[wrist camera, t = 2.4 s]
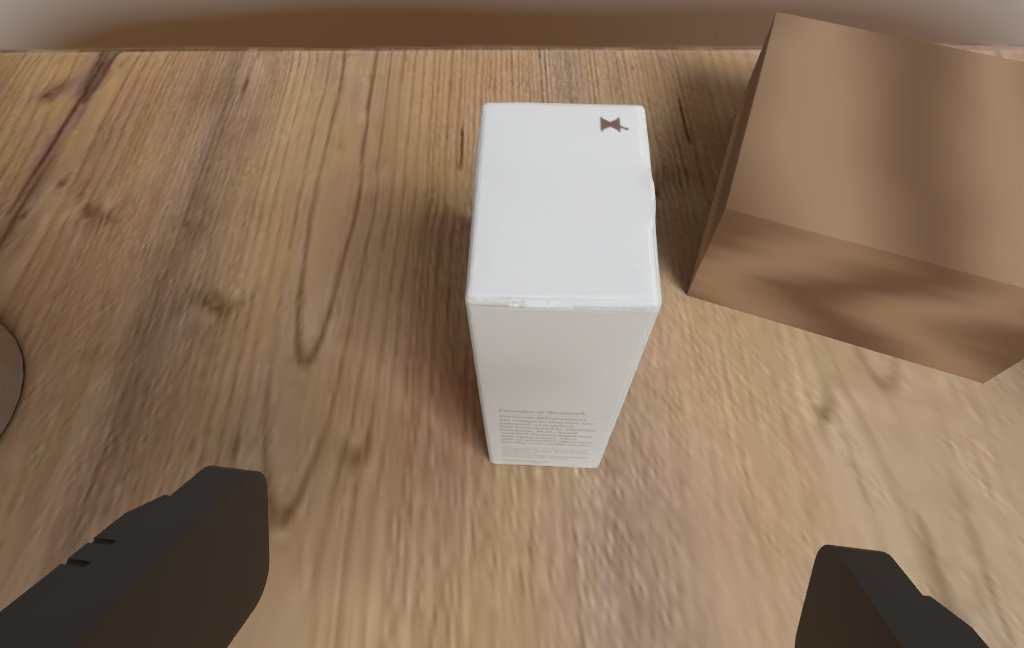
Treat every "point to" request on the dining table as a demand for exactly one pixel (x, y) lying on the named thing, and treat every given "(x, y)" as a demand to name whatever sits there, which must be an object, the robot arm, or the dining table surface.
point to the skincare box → (559, 275)
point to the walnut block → (875, 197)
